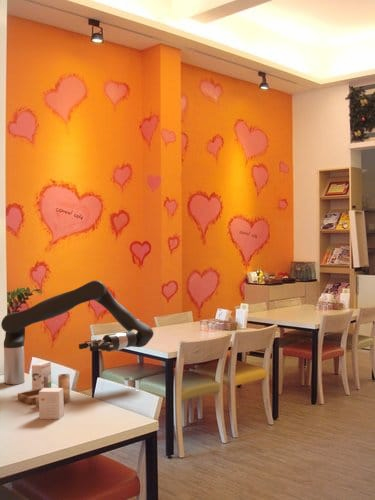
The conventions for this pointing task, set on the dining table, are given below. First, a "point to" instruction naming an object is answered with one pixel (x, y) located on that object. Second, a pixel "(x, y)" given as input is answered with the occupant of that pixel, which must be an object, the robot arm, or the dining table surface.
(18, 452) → the dining table surface
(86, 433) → the dining table surface
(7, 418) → the dining table surface
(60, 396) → the small box
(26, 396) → the tray
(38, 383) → the ink box
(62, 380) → the tan hollow cylinder
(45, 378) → the stand
